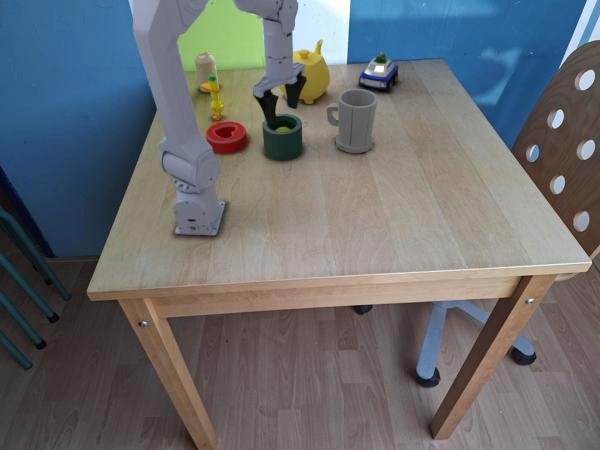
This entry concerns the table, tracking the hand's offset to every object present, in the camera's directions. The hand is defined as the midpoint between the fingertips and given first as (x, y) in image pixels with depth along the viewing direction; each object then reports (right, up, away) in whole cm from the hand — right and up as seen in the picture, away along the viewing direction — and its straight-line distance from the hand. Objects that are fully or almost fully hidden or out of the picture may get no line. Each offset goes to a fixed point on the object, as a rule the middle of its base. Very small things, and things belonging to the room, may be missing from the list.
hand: (281, 114), depth 94 cm
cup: (+16, -5, +8) cm, 19 cm away
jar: (0, -7, +6) cm, 9 cm away
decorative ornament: (-14, -5, +9) cm, 17 cm away
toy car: (+27, +17, +30) cm, 44 cm away
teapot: (+6, +13, +27) cm, 30 cm away
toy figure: (-18, +4, +18) cm, 25 cm away
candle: (-22, +15, +30) cm, 40 cm away
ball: (0, -4, +4) cm, 6 cm away
